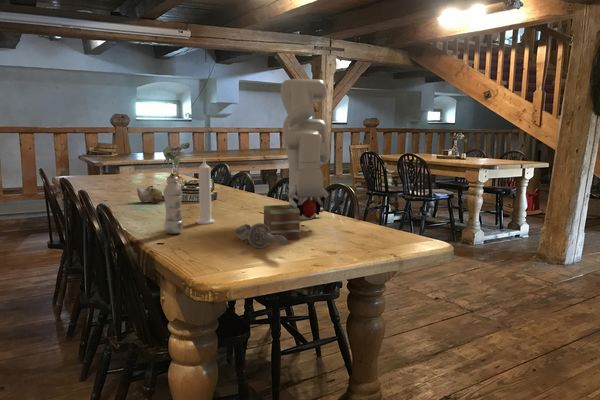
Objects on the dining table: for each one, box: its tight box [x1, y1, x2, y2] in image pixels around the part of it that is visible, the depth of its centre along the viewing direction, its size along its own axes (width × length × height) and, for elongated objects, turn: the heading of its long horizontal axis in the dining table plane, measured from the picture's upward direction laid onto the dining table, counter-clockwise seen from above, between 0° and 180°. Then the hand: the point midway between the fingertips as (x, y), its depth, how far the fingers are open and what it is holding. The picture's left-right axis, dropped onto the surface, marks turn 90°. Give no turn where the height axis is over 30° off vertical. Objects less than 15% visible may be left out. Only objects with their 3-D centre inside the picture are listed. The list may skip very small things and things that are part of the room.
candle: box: [196, 158, 216, 225], centre depth 193 cm, size 7×7×25 cm
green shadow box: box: [263, 204, 301, 241], centre depth 170 cm, size 10×11×10 cm
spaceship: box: [235, 222, 289, 249], centre depth 155 cm, size 8×35×8 cm
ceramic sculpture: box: [136, 185, 165, 204], centre depth 242 cm, size 11×9×15 cm
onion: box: [302, 197, 317, 218], centre depth 184 cm, size 6×6×8 cm
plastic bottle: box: [162, 176, 184, 235], centre depth 174 cm, size 6×7×20 cm
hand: (308, 214), depth 184 cm, fingers closed on onion, 5 cm apart
